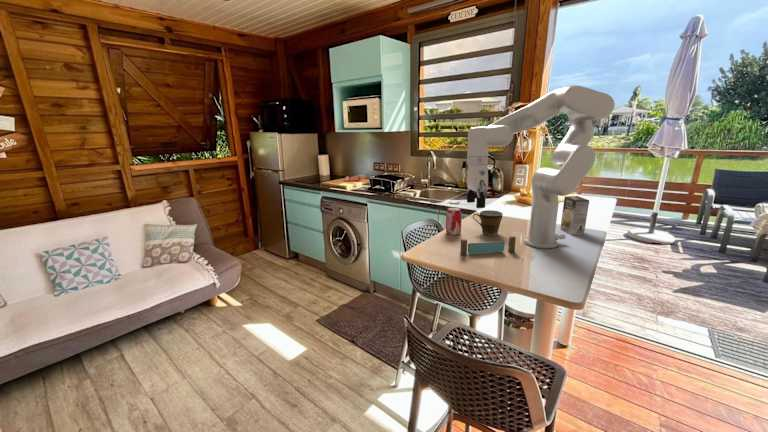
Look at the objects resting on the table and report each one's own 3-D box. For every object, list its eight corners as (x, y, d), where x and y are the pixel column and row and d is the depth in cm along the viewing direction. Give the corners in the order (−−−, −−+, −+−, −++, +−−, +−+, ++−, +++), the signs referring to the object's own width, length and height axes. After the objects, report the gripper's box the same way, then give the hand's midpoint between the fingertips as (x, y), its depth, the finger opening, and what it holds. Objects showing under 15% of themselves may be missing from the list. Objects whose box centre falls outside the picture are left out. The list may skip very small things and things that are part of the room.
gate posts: (512, 250, 121) (513, 235, 120) (515, 252, 119) (517, 237, 117) (459, 253, 119) (460, 239, 118) (461, 255, 117) (462, 241, 115)
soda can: (461, 236, 139) (462, 210, 136) (445, 235, 141) (446, 210, 138) (460, 231, 146) (461, 207, 143) (445, 230, 148) (446, 206, 144)
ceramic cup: (499, 230, 145) (501, 210, 143) (502, 237, 136) (504, 216, 133) (471, 229, 148) (472, 209, 146) (472, 236, 139) (473, 215, 136)
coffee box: (559, 229, 145) (563, 196, 141) (573, 228, 145) (577, 195, 141) (570, 235, 136) (575, 200, 132) (585, 234, 136) (590, 199, 132)
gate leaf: (501, 250, 120) (502, 240, 119) (503, 251, 119) (504, 241, 118) (467, 252, 119) (468, 242, 118) (469, 253, 117) (469, 244, 116)
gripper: (497, 162, 106) (494, 209, 111) (477, 158, 123) (476, 200, 127) (476, 163, 106) (474, 210, 110) (459, 159, 122) (458, 201, 127)
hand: (475, 205), depth 119 cm, fingers open, 9 cm apart
